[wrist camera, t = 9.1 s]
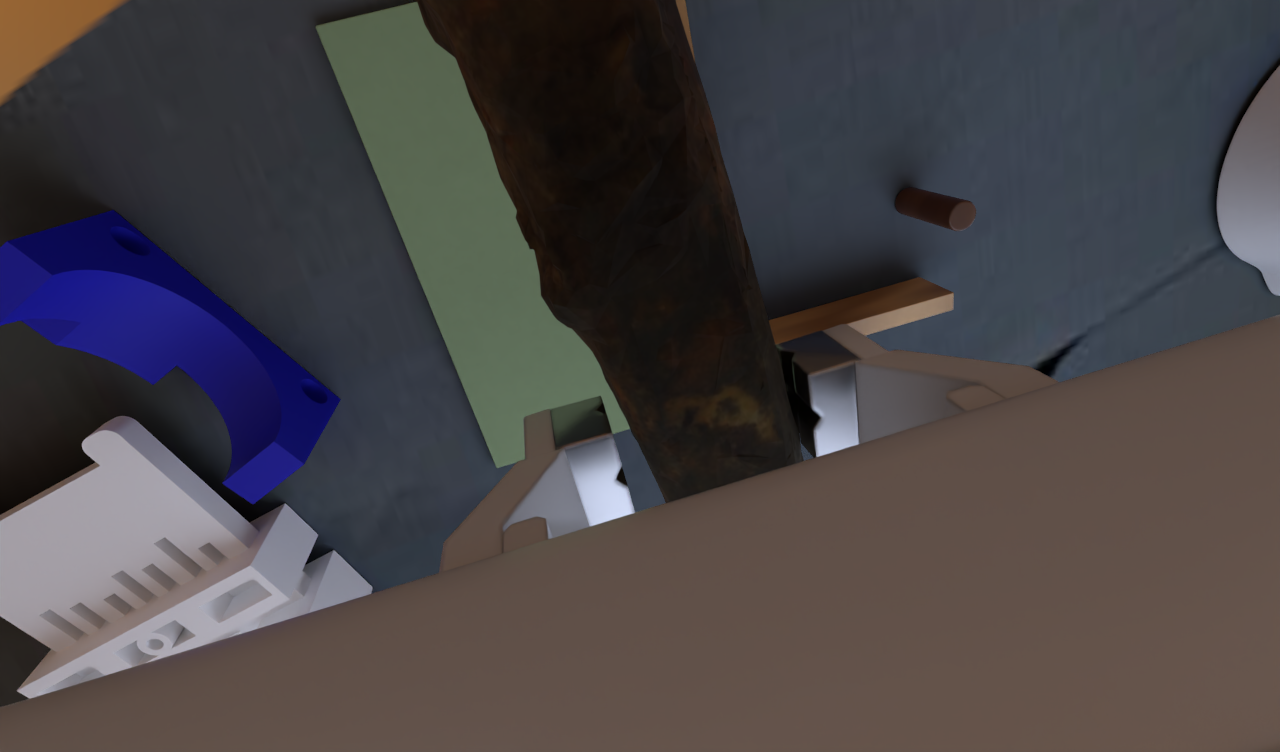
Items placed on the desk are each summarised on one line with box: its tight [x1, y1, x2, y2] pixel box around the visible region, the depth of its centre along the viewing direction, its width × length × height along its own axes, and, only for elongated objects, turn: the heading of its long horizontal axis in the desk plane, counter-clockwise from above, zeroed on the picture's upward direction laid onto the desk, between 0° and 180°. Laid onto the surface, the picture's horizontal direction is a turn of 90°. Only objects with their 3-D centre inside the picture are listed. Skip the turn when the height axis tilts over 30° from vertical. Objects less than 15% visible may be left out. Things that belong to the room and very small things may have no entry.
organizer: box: [0, 416, 373, 698], centre depth 35 cm, size 13×5×35 cm
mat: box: [315, 2, 630, 468], centre depth 29 cm, size 11×22×1 cm, turn 13°
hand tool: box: [417, 0, 803, 503], centre depth 11 cm, size 19×4×5 cm, turn 18°
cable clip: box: [0, 210, 341, 504], centre depth 26 cm, size 12×4×6 cm, turn 36°
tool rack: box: [676, 0, 976, 345], centre depth 27 cm, size 14×24×4 cm, turn 13°
